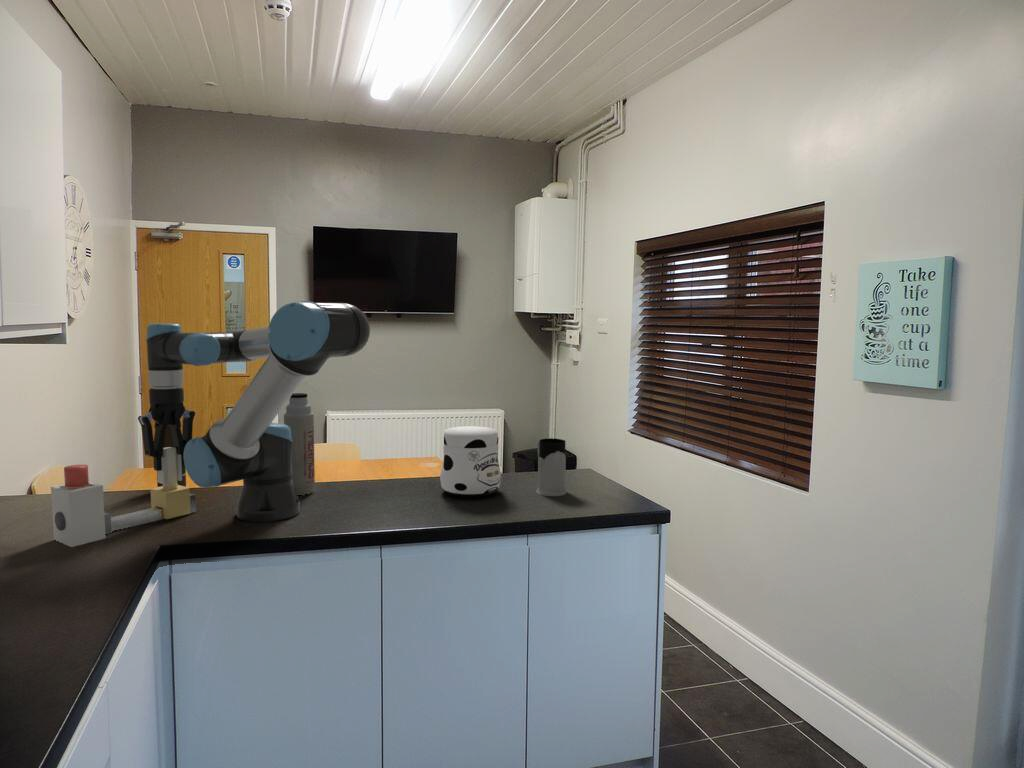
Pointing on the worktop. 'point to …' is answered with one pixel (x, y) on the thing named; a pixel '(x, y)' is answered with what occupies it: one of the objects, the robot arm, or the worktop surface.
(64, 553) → the worktop surface
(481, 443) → the milk container
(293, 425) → the thermos bottle
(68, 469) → the gauge button
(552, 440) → the glass holder
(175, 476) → the carriage
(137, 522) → the rail
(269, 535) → the worktop surface
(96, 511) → the white button housing
